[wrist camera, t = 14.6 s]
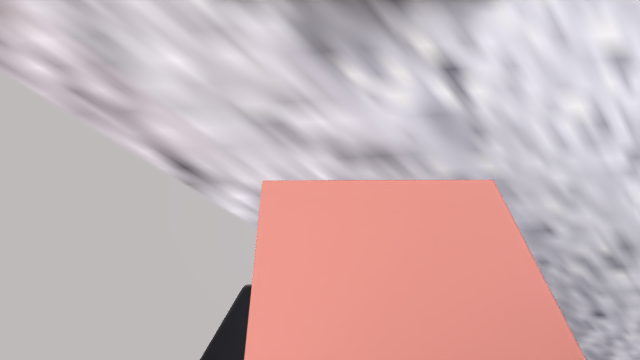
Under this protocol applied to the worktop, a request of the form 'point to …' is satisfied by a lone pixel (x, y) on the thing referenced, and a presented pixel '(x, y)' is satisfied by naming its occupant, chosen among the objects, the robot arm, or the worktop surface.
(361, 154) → the worktop surface
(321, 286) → the cap
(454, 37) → the worktop surface
